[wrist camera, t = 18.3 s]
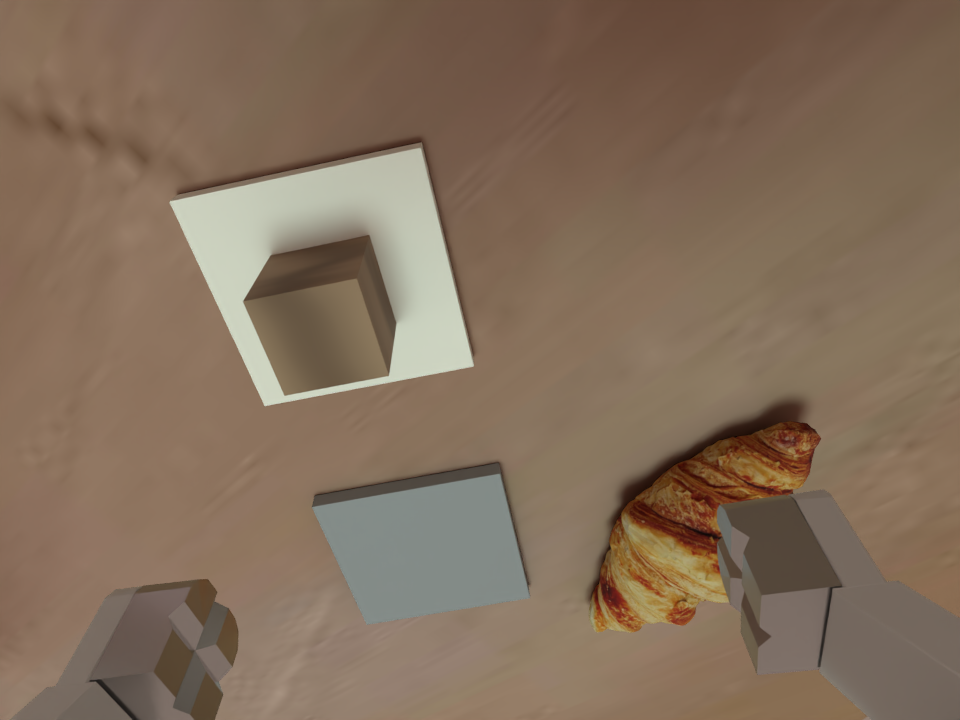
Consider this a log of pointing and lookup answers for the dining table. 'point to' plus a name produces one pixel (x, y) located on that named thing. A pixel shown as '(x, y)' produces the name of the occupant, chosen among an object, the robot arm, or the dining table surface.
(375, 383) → the pad
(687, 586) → the croissant
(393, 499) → the pad
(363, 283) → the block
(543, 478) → the dining table surface
